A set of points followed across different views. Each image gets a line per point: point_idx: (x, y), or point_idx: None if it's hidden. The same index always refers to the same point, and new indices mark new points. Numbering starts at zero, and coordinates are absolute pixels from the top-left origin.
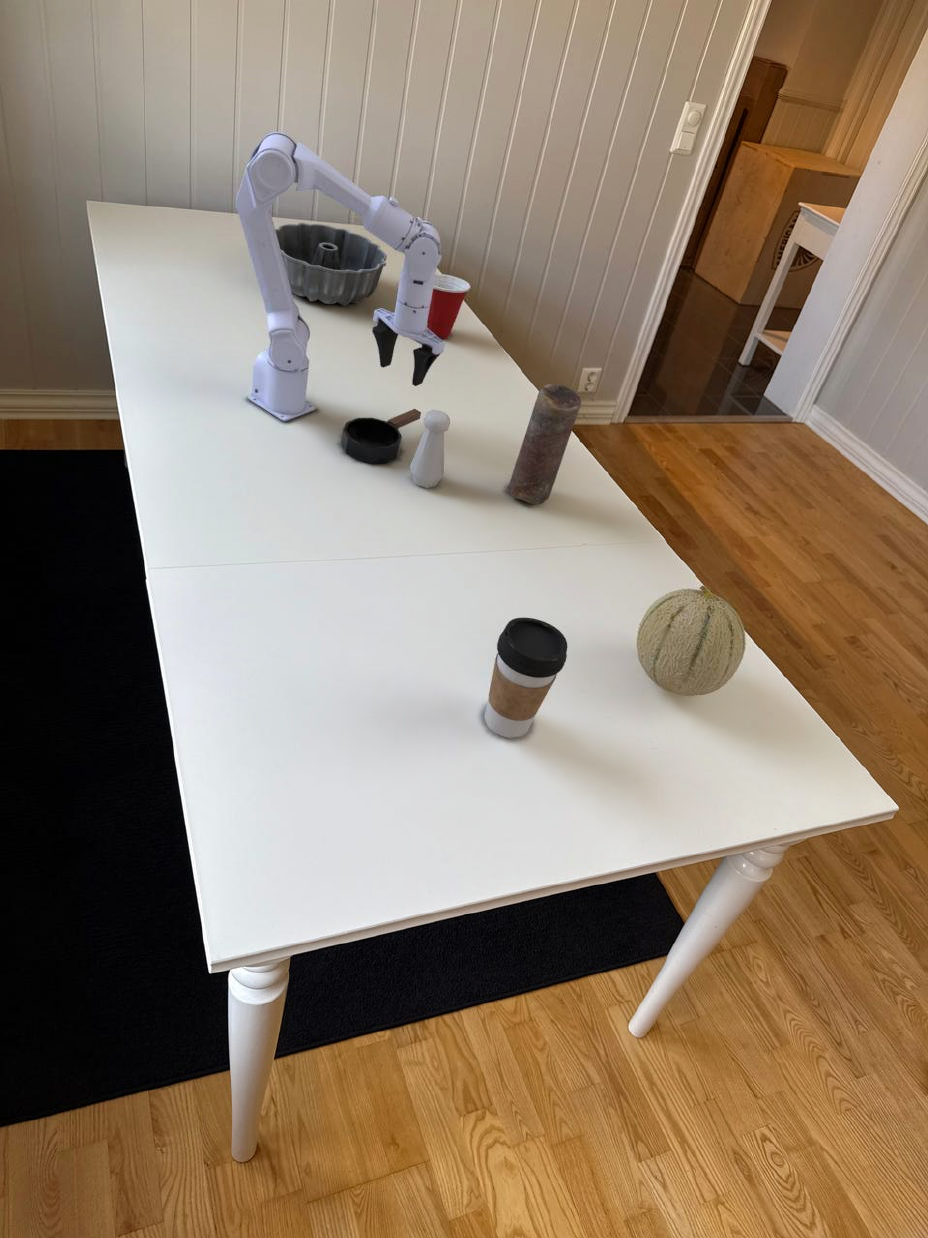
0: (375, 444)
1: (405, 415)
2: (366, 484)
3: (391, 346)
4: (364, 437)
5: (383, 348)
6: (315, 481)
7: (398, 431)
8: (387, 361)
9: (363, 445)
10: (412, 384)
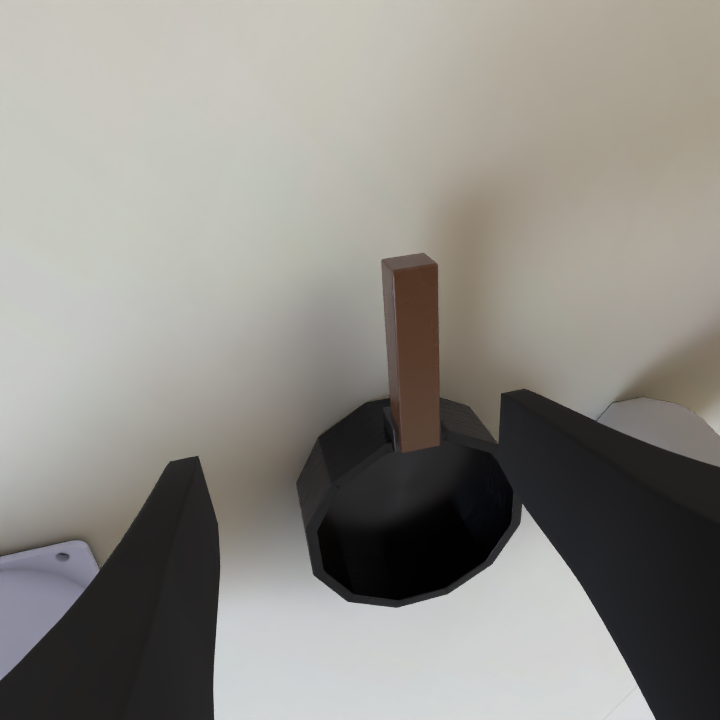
0: (404, 470)
1: (418, 363)
2: (520, 568)
3: (179, 604)
4: (349, 481)
5: (210, 695)
6: (435, 657)
7: (470, 442)
8: (207, 519)
9: (460, 585)
10: (499, 461)
